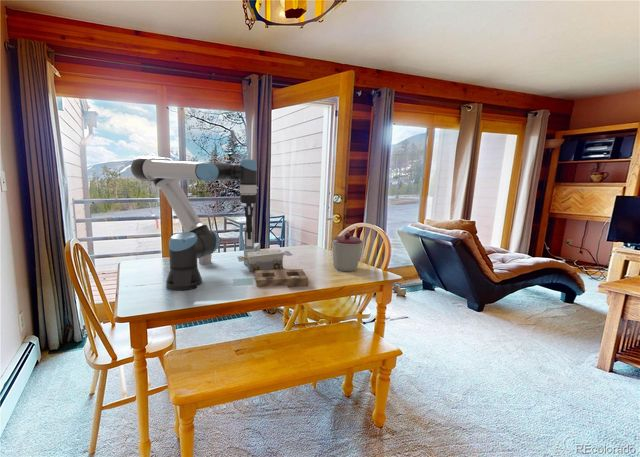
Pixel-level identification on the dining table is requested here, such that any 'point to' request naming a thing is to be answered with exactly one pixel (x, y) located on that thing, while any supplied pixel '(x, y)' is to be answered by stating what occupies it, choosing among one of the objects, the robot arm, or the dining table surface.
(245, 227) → the plug
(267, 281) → the socket board
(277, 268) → the electrical outlet
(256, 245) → the light bulb box
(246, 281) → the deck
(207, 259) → the coffee cup
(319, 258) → the dining table surface
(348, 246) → the canister
